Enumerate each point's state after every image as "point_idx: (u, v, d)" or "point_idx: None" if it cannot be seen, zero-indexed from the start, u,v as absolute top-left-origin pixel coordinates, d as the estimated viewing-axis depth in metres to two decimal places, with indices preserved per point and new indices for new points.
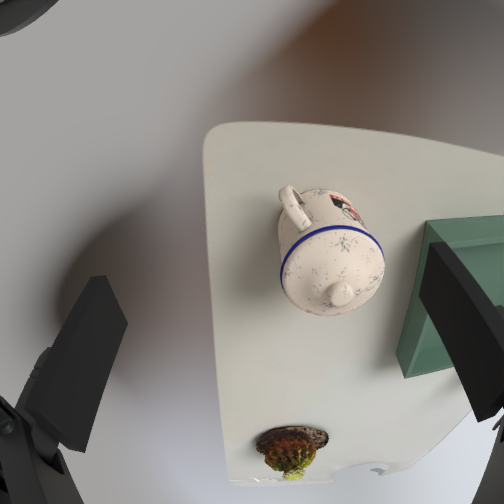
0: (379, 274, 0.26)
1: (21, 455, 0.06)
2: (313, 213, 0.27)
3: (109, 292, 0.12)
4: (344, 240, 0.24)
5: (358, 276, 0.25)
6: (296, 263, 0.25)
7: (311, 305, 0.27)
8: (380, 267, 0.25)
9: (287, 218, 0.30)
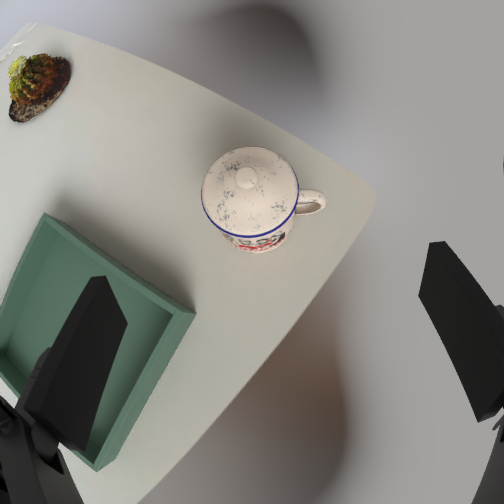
0: (227, 222, 0.28)
1: (21, 455, 0.06)
2: (294, 210, 0.32)
3: (109, 292, 0.12)
4: (282, 209, 0.28)
5: (247, 201, 0.27)
6: (285, 167, 0.29)
7: (238, 156, 0.29)
8: (233, 226, 0.28)
9: None
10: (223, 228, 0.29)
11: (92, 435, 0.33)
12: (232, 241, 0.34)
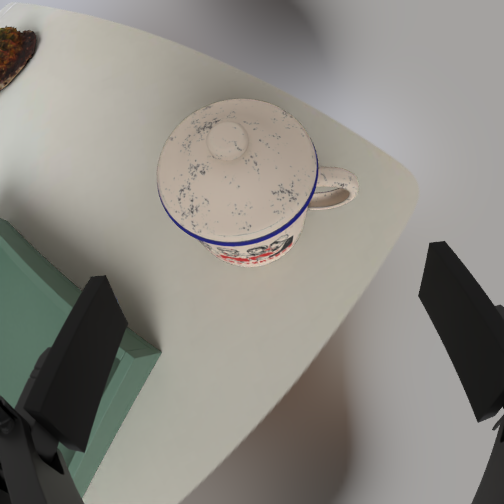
0: (194, 219, 0.16)
1: (21, 455, 0.06)
2: None
3: (109, 292, 0.12)
4: (290, 197, 0.16)
5: (229, 181, 0.15)
6: (295, 128, 0.17)
7: (217, 112, 0.17)
8: (205, 226, 0.16)
9: None
10: (188, 229, 0.17)
11: None
12: (210, 249, 0.21)
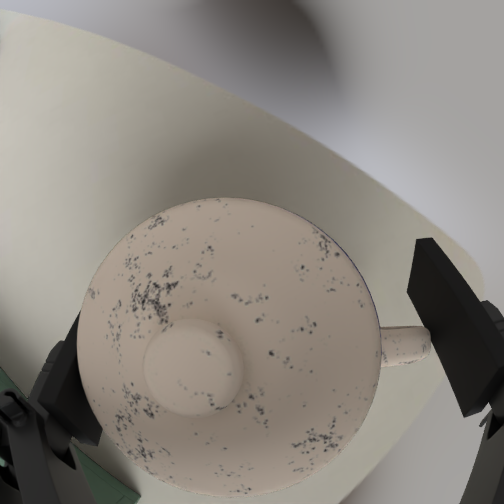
0: (149, 465, 0.07)
1: (34, 450, 0.06)
2: None
3: None
4: (327, 445, 0.07)
5: (205, 441, 0.06)
6: (346, 287, 0.08)
7: (176, 241, 0.08)
8: (170, 478, 0.07)
9: None
10: None
11: None
12: None
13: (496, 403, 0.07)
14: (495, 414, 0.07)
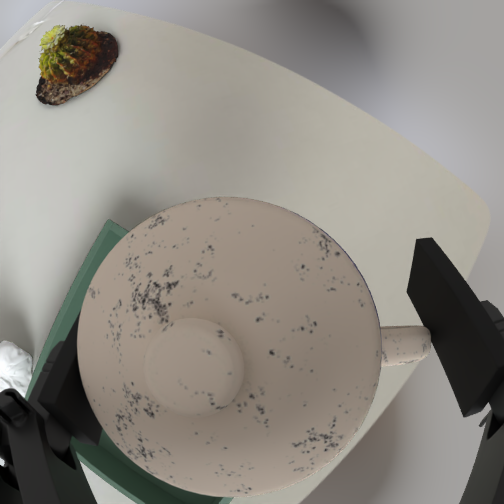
0: (150, 465, 0.07)
1: (34, 449, 0.06)
2: None
3: None
4: (327, 444, 0.07)
5: (206, 440, 0.06)
6: (347, 287, 0.08)
7: (176, 240, 0.08)
8: (170, 478, 0.07)
9: None
10: None
11: (181, 494, 0.27)
12: None
13: (496, 403, 0.07)
14: (494, 415, 0.07)
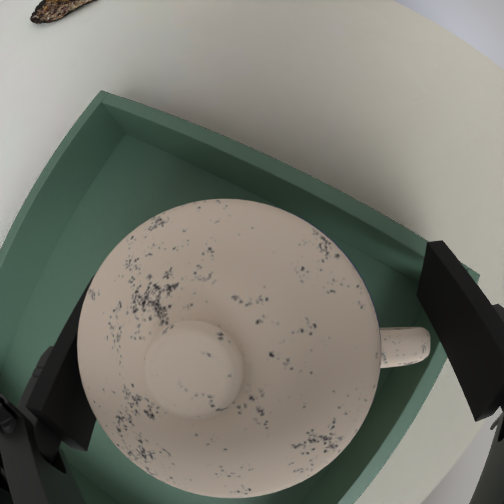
0: (150, 466, 0.07)
1: (23, 454, 0.06)
2: None
3: None
4: (327, 446, 0.07)
5: (206, 442, 0.06)
6: (346, 289, 0.08)
7: (176, 242, 0.08)
8: (170, 479, 0.07)
9: None
10: None
11: None
12: None
13: None
14: None
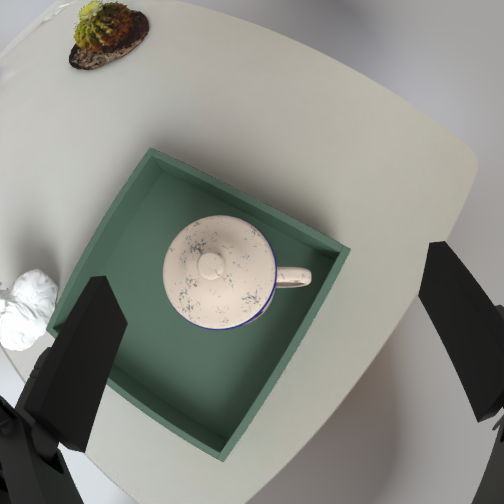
0: (190, 313, 0.24)
1: (21, 455, 0.06)
2: None
3: (109, 292, 0.12)
4: (255, 301, 0.24)
5: (213, 293, 0.23)
6: (260, 245, 0.24)
7: (204, 230, 0.25)
8: (198, 318, 0.24)
9: None
10: (187, 319, 0.24)
11: (205, 418, 0.31)
12: None
13: None
14: None
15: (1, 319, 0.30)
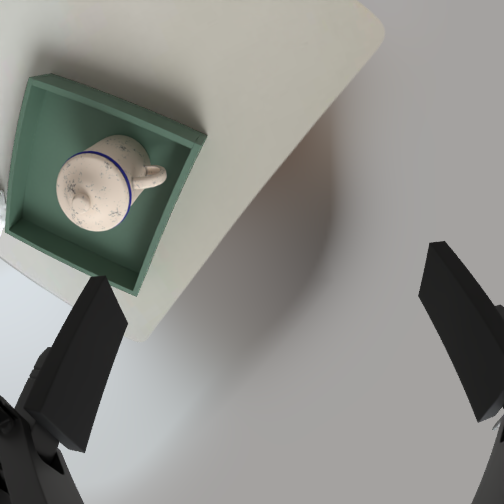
0: (82, 225, 0.32)
1: (21, 455, 0.06)
2: None
3: (109, 292, 0.12)
4: (118, 214, 0.31)
5: (89, 216, 0.30)
6: (113, 176, 0.29)
7: (73, 171, 0.28)
8: (87, 228, 0.32)
9: (140, 158, 0.34)
10: None
11: (123, 261, 0.46)
12: None
13: None
14: None
15: None
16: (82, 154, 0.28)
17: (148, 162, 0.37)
